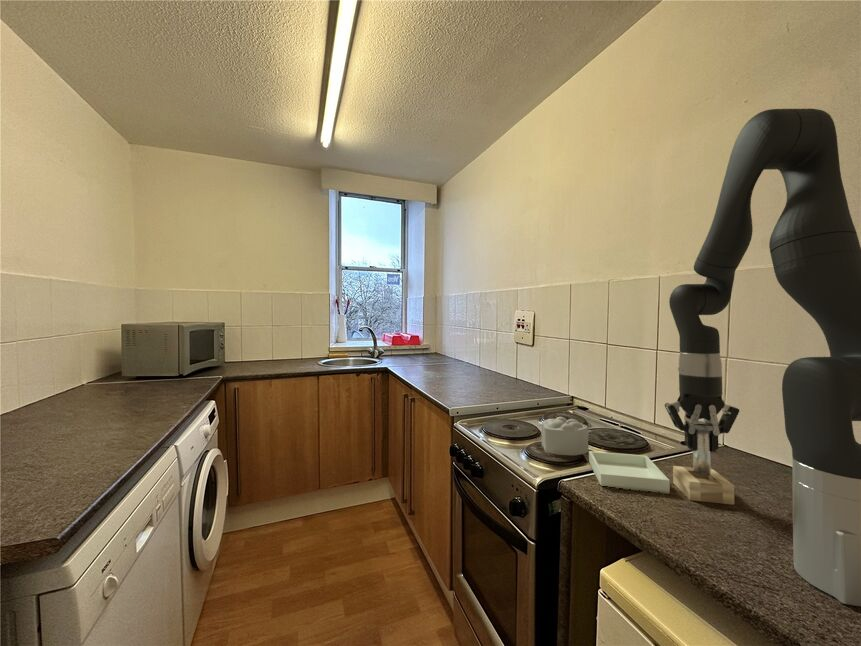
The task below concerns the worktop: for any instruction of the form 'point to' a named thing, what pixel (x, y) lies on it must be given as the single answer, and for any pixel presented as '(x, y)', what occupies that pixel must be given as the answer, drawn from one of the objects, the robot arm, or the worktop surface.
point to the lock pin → (702, 449)
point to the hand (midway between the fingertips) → (701, 449)
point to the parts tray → (628, 472)
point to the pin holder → (703, 486)
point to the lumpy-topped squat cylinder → (564, 436)
